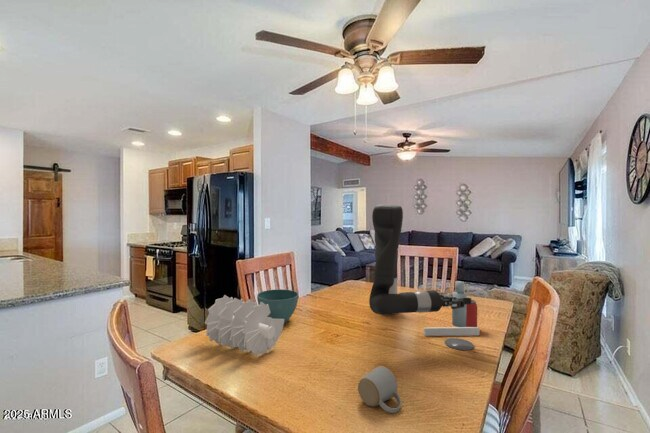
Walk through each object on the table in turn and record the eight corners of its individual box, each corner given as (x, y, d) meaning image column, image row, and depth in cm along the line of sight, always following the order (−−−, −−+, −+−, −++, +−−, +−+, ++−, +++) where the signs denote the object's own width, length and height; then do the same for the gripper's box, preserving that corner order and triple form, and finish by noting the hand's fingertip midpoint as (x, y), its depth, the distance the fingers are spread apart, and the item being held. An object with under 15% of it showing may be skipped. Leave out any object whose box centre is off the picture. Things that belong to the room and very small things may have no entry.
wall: (424, 335, 128) (424, 328, 128) (423, 334, 129) (423, 327, 129) (479, 335, 129) (479, 327, 129) (478, 334, 130) (478, 326, 130)
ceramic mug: (355, 401, 85) (355, 372, 84) (374, 388, 90) (374, 361, 90) (389, 420, 77) (390, 388, 77) (408, 406, 83) (408, 376, 82)
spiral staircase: (261, 372, 107) (209, 352, 120) (290, 334, 121) (241, 319, 133) (246, 331, 100) (192, 314, 112) (279, 295, 113) (227, 283, 126)
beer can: (479, 332, 132) (479, 303, 131) (461, 331, 133) (462, 302, 133) (474, 327, 138) (475, 299, 138) (458, 326, 139) (458, 298, 139)
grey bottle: (455, 327, 117) (456, 283, 117) (450, 322, 122) (450, 280, 122) (468, 327, 117) (469, 283, 117) (462, 322, 122) (463, 280, 122)
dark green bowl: (304, 317, 151) (304, 291, 150) (287, 331, 134) (287, 301, 133) (269, 313, 157) (269, 288, 156) (249, 325, 140) (249, 297, 139)
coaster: (451, 350, 115) (451, 349, 115) (440, 339, 125) (440, 338, 125) (479, 350, 115) (479, 349, 115) (466, 339, 125) (466, 337, 125)
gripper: (436, 295, 109) (479, 293, 113) (414, 286, 123) (454, 284, 127) (435, 318, 109) (479, 314, 113) (414, 306, 123) (453, 303, 127)
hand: (465, 298), depth 120 cm, fingers closed on grey bottle, 4 cm apart
